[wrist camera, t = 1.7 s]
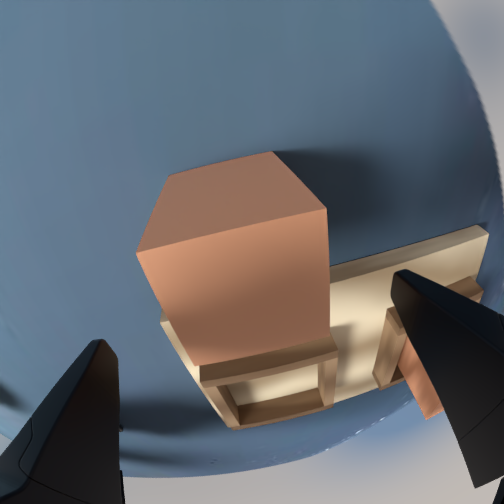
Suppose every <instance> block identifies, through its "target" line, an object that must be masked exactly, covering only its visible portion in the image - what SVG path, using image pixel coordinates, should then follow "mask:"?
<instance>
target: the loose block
mask: <svg viewBox="0 0 504 504" xmlns="http://www.w3.org/2000/svg"><path fill="white" fill-rule="evenodd" d="M136 255H137V257H138V259H139V261H140V264H141V266H142V268H143V270H144V272H145V274H146V277H147V279H148V281H149V283H150V285H151V287H152V289H153V291H154V293H155V295H156V297H157V299H158V301H159V303H160V305H161V307H162V309H163V311H164V313H165V315H166V316H167V318H168V320H169V322H170V324H171V326H172V328H173V329H174V331H175V333H176V335H177V337H178V339H179V340H180V342H181V344H182V346H183V347H184V349H185V351H186V353H187V354H188V356H189V358H190V360H191V361H192V363H193V365H194V366H200V365H206V364H212V363H217V362H223V361H228V360H233V359H238V358H243V357H248V356H252V355H257V354H261V353H266V352H270V351H274V350H279V349H283V348H287V347H291V346H295V345H298V344H302V343H306V342H310V341H313V340H317V339H320V338H324V337H327V336H330V270H329V243H328V224H327V208H326V207H325V206H324V205H323V204H322V203H321V202H320V201H319V199H318V198H317V197H316V196H315V195H314V194H313V193H312V192H311V191H310V190H309V189H308V188H307V187H306V186H305V184H304V183H303V182H302V181H301V180H300V179H299V178H298V177H297V176H296V175H295V174H294V173H293V172H292V171H291V170H290V169H289V168H288V167H287V166H286V165H285V164H284V163H283V162H282V161H281V160H280V159H279V158H278V157H277V156H276V155H275V154H274V153H273V152H272V151H270V152H265V153H260V154H255V155H250V156H246V157H241V158H236V159H232V160H228V161H223V162H219V163H215V164H211V165H207V166H203V167H199V168H195V169H191V170H187V171H184V172H180V173H176V174H173V175H169V176H168V178H167V180H166V183H165V185H164V187H163V189H162V191H161V193H160V196H159V198H158V200H157V202H156V205H155V207H154V209H153V212H152V214H151V216H150V219H149V221H148V224H147V226H146V228H145V231H144V233H143V236H142V238H141V241H140V243H139V246H138V249H137V251H136Z"/></svg>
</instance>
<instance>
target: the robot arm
mask: <svg viewBox="0 0 504 504" xmlns="http://www.w3.org/2000/svg"><path fill="white" fill-rule="evenodd" d="M390 295H391V299H392V302H393V304H394V306H395V308H396V311H397V313H398V315H399V317H400V320H401V322H402V324H403V327H404V329H405V332H406V334H407V336H408V338H409V340H410V342H411V344H412V346H413V348H414V350H415V352H416V354H417V355H418V357H419V359H420V361H421V363H422V365H423V367H424V369H425V371H426V373H427V375H428V377H429V379H430V381H431V383H432V385H433V387H434V389H435V391H436V393H437V395H438V397H439V400H440V402H441V404H442V406H443V408H444V410H445V413H446V414H447V417H448V419H449V422H450V424H451V426H452V429H453V431H454V434H455V436H456V438H457V441H458V444H459V446H460V449H461V451H462V454H463V457H464V459H465V462H466V465H467V468H468V470H469V473H470V476H471V479H472V482H473V485H474V487H475V488H478V487H480V486H482V485H485V484H487V483H489V482H491V481H493V480H495V479H497V478H499V477H501V476H503V475H504V316H503V315H501V314H498V313H497V312H495V311H493V310H491V309H489V308H488V307H486V306H484V305H482V304H480V303H478V302H476V301H474V300H472V299H470V298H467V297H465V296H463V295H461V294H459V293H457V292H455V291H453V290H451V289H449V288H447V287H445V286H443V285H440V284H438V283H436V282H434V281H432V280H430V279H428V278H425V277H423V276H421V275H419V274H417V273H415V272H412V271H410V270H408V269H402V270H399V271H396V272H394V274H393V278H392V285H391V291H390ZM119 413H120V396H119V373H118V358H117V356H116V354H115V353H114V351H113V350H112V349H111V347H110V346H109V345H108V343H107V342H106V341H105V340H104V339H97V340H92V341H91V342H90V343H89V344H88V346H87V347H86V348H85V349H84V350H83V351H82V353H81V354H80V355H79V356H78V357H77V359H76V360H75V361H74V362H73V364H72V365H71V366H70V367H69V368H68V370H67V371H66V372H65V373H64V375H63V376H62V377H61V378H60V380H59V381H58V382H57V383H56V385H55V386H54V387H53V388H52V390H51V391H50V392H49V393H48V395H47V396H46V397H45V399H44V400H43V401H42V403H41V404H40V405H39V407H38V408H37V409H36V411H35V412H34V413H33V415H32V417H30V419H29V420H28V421H27V423H26V424H25V425H24V427H23V428H22V429H21V431H20V432H19V433H18V435H17V436H16V437H15V438H14V440H13V441H12V442H11V444H10V445H9V446H8V447H7V448H6V450H5V451H4V452H3V453H2V454H1V456H0V504H125V496H124V486H123V475H122V471H121V470H120V465H119V432H122V431H123V427H121V426H120V425H119ZM493 504H504V477H503V478H502V479H501V481H500V484H499V487H498V490H497V494H496V496H495V499H494V501H493Z"/></svg>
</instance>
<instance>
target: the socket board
mask: <svg viewBox="0 0 504 504" xmlns="http://www.w3.org/2000/svg"><path fill="white" fill-rule="evenodd" d="M488 236H489V233H488V232H486V231H485V230H484V229H482V228H481V227H480V226H478V225H474V226H471V227H468V228H465V229H461V230H458V231H455V232H452V233H448V234H445V235H442V236H438V237H435V238H432V239H428V240H425V241H422V242H418V243H415V244H411V245H408V246H404V247H401V248H397V249H394V250H390V251H386V252H383V253H379V254H376V255H372V256H368V257H365V258H361V259H357V260H353V261H350V262H346V263H342V264H338V265H334V266H331V267H329V270H330V336H327V337H324V338H320V339H317V340H313V341H310V342H306V343H302V344H298V345H295V346H291V347H287V348H283V349H279V350H274V351H270V352H266V353H261V354H257V355H252V356H248V357H243V358H238V359H233V360H228V361H223V362H217V363H212V364H206V365H200V366H194V365H193V363H192V361H191V360H190V358H189V356H188V354H187V353H186V351H185V349H184V347H183V346H182V344H181V342H180V340H179V339H178V337H177V335H176V333H175V331H174V329H173V328H172V326H171V324H170V322H169V320H168V318H167V316H166V315H165V313H164V311H163V309H162V312H161V319H160V324H161V325H162V327H163V329H164V331H165V332H166V334H167V336H168V337H169V339H170V341H171V343H172V344H173V346H174V348H175V349H176V351H177V353H178V354H179V356H180V357H181V359H182V361H183V362H184V364H185V365H186V367H187V369H188V370H189V372H190V373H191V375H192V376H193V378H194V380H195V381H196V383H197V384H198V386H199V387H200V389H201V390H202V392H203V393H204V394H205V396H206V397H207V399H208V400H209V402H210V403H211V405H212V406H213V407H214V409H215V410H216V412H217V413H218V414H219V416H220V417H221V419H222V420H223V421H224V423H225V424H226V425H227V427H231V428H232V430H238V429H244V428H250V427H255V426H261V425H266V424H270V423H275V422H280V421H284V420H288V419H292V418H296V417H300V416H304V415H308V414H312V413H315V412H319V411H322V410H326V409H329V408H332V407H333V403H335V402H338V401H341V400H345V399H348V398H351V397H353V396H356V395H359V394H362V393H365V392H367V391H370V390H373V389H375V388H378V387H379V390H383V389H385V388H388V387H390V386H393V385H395V384H397V383H400V382H402V381H404V380H406V382H407V384H408V385H409V387H410V389H411V391H412V393H413V395H414V397H415V399H416V401H417V403H418V405H419V407H420V409H421V411H422V413H423V415H424V417H425V419H426V420H427V419H429V418H431V417H433V416H434V415H436V414H438V413H440V412H442V411H443V410H444V408H443V406H442V404H441V402H440V400H439V397H438V395H437V393H436V391H435V389H434V387H433V385H432V383H431V381H430V379H429V377H428V375H427V373H426V371H425V369H424V367H423V365H422V363H421V361H420V359H419V357H418V355H417V354H416V352H415V350H414V348H413V346H412V344H411V342H410V340H409V338H408V336H407V334H406V332H405V329H404V327H403V324H402V322H401V320H400V317H399V315H398V313H397V311H396V308H395V306H394V304H393V302H392V299H391V295H390V291H391V285H392V278H393V274H394V272H396V271H399V270H402V269H408V270H410V271H412V272H415V273H417V274H419V275H421V276H423V277H425V278H428V279H430V280H432V281H434V282H436V283H438V284H440V285H443V286H445V287H447V288H449V289H451V290H453V291H455V292H457V293H459V294H461V295H463V296H465V297H467V298H470V299H472V300H474V301H476V302H478V303H479V302H480V299H481V297H482V294H483V292H484V290H483V289H482V288H481V287H480V286H479V285H478V284H477V283H476V282H475V280H476V277H477V274H478V271H479V268H480V265H481V262H482V258H483V255H484V251H485V248H486V244H487V240H488Z"/></svg>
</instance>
